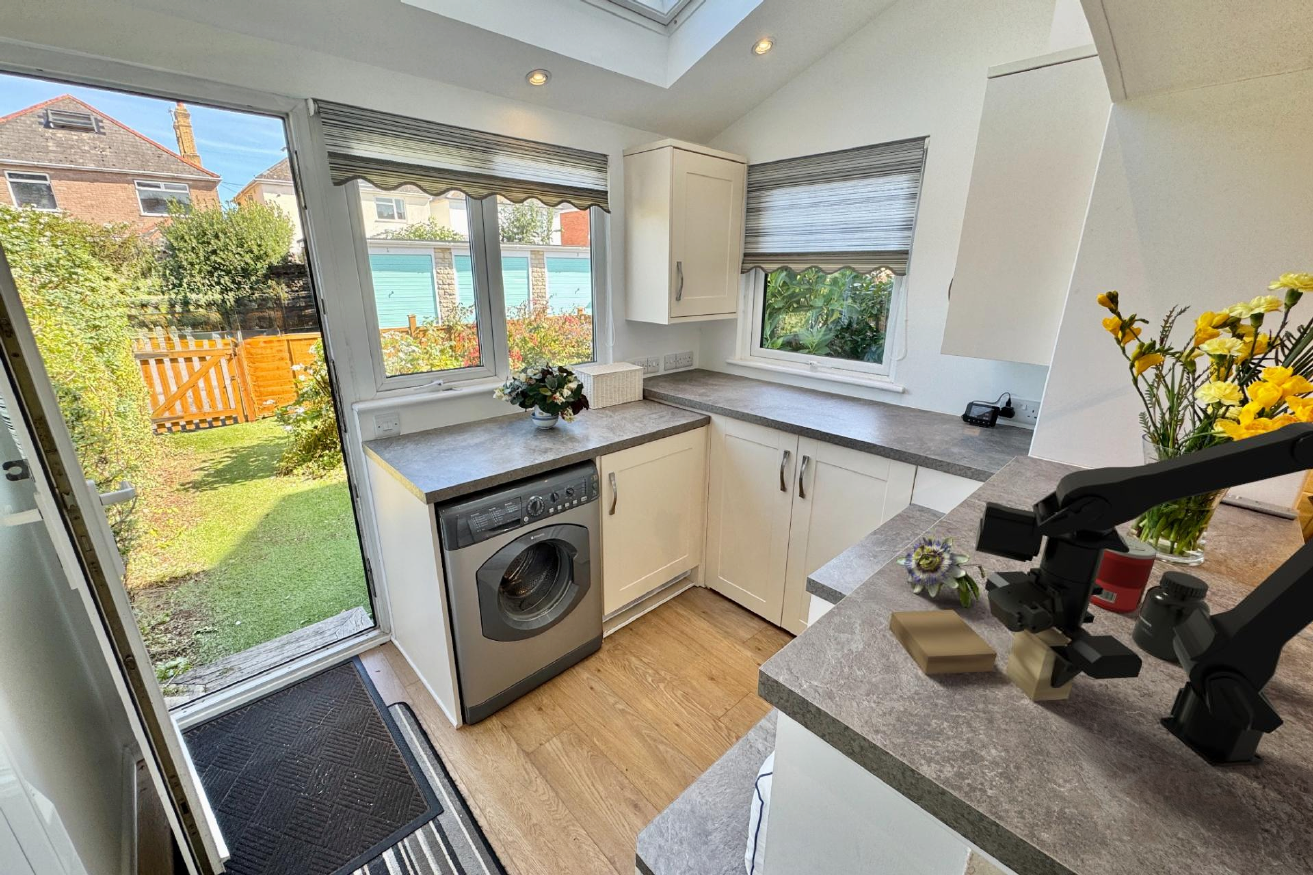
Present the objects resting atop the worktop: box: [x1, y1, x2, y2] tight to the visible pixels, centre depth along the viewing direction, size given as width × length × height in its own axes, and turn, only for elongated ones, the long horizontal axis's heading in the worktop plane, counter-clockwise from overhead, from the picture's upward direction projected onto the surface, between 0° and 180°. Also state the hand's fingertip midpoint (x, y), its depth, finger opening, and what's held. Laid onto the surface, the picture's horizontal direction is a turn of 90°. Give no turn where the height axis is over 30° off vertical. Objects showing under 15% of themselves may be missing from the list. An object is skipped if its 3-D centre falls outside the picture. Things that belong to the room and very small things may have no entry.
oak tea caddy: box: [1004, 627, 1075, 702], centre depth 70 cm, size 5×5×9 cm
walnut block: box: [888, 609, 998, 675], centre depth 78 cm, size 10×10×3 cm
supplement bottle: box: [1131, 570, 1211, 663], centre depth 78 cm, size 7×7×12 cm
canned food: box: [1089, 534, 1158, 614], centre depth 89 cm, size 8×8×11 cm
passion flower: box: [895, 536, 986, 609], centre depth 92 cm, size 11×11×12 cm
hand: (1039, 672), depth 71 cm, fingers closed on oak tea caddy, 5 cm apart
